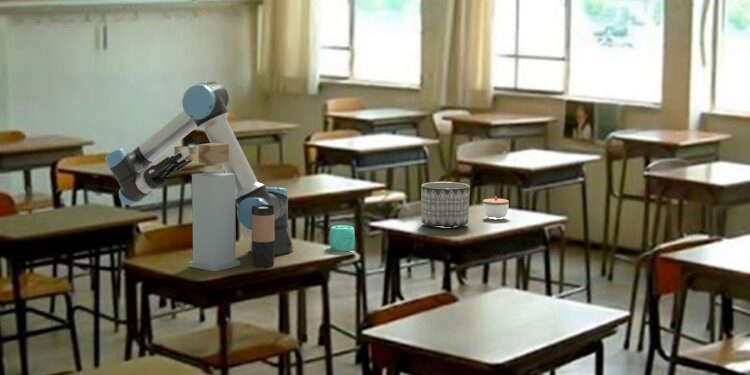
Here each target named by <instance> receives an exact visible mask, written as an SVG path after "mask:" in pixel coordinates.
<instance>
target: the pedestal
mask: <svg viewBox="0 0 750 375" xmlns="http://www.w3.org/2000/svg"><path fill="white" fill-rule="evenodd" d="M191 193H192V194H191V201H192V202H191V203H192V208H191V209H192V211H191V212H192V260H191V261H188V267H189V268H190V267H191V268H195V269H200V270H205V271H210V272H211V271H212V272H218V271H223V270H226V269H227V270H228V269H232V268H235V267H240V266H241V260H237V252H236V250H237V246H236V245H237V244H236V241H237V240H236V239H237V238H236V236H237V232H236V227H237V226H236V203H235V174H230V173H225V172H220V171H207V172H202V173H201V172H199V173H194V174H191Z"/></svg>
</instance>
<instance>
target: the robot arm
mask: <svg viewBox="0 0 750 375" xmlns="http://www.w3.org/2000/svg"><path fill="white" fill-rule="evenodd" d="M229 96H230V95H229V92H228V90H227V88H226V87H225V86H223V85H222V84H221V83H220V82H217V81H216V82H215V81H210V82H208V81H207V82H203V83H202V82H200V83H196V84H194V85H192V86H190V87H189V88H188V89H186V91H185V92H184V94H183V97H182V100H181V101H182V102H181V104H182V108H183V110H182V111H180V112H179V113H178V114H177V115H176V116H174V118H171V120H170V121H169V122H168V123H166V124H164V125H163V126H162V127H161V128H160V129H158V131H156V132H155V133H154V134H152V135H151V136H150V137H148V138H147V139H146V140H145V141H144V142H142V143H141V144H139V146H137V147H136V148H135V149H133V150H132V151H130V152H126V151H125V149H124V148H122V147H119V148H117V149H115V150H113V151H111V152H110V153H108V154H106V156H105V157H104V160H105V163H106V164H107V166H108V168H109V171H111V173H112V175H113V176H114V178H115V180H116V181H117V183H118V185H119V186H120V188H119V190H118V198H119V199H120V202H122V203H123V204H124V205H127V206H134V205H135V204H137V203H139V202H140V201H143V199H144V198H146V197H147V196H149V195H152V194H153V192H154V191H156V190H157V189H159V188H160V187H161V186H163V185H164V184H165V183H166V182H167V179H168V177H170V176H171V175H172V174H173V173H174V172H175V173H176V174H177V173H180V172H181V170H182V169H184V168H185V167H186V166H188V165H189V164H190V163H192V162H193V161H191V160H183V159H185V158H186V157H187V156H189V155H190V154H191V153H190V151H189V148H188V147H189V146H186V148H184V149H183V150H181V151H180V152H179V153H177V154H176V155H175V156H174V155H172V156H170V157H169V156H167V157H166V158H164V159H163V160H160V161H159V162H158V163H157V164H154V165H151V164H152V163H153V162H154V161H156V160H157V159H158V158H159V157H161V156H162V155H163V154H165V153H166V152H167V151H169V150H170V149H171V148H172V147H175V145H176V144H177V143H179V142H180V141H181V140H183V139H184V138H185V137H186V136H188V135H189V134H190V133H191V132H193V131H195V129H197V128H198V129H199V130H203V131H204V134H206V137H207V139H208V141H209V143H225V144H229V162H224V163H220V164H221V167H222V168H223V171H224V173H230V174H235V206H236V207H237V209H236V216H237V219H238V221H239V223H240V224H241V225H242V226H243V227H244V228H246V229H247V230H250V231H252V206H256V207H258V206H261V205H272V206H274V233H275V243H274V256H277V255H285V254H286V253H287V254H290V253H292V252H293V251H294V250H293V249H294V247H293V246H294V244H293V241H292V238H291V235H290V232H289V230H288V229H289V227H288V226H289V225H288V223H289V221H288V220H289V214H288V213H289V211H288V208H289V207H288V206H289V205H288V204H289V202H288V201H289V196H288V189H287V188H286V187H272V186H265V184H264V183H263V182H262V183H261V182H259V181H258V178H257V177H256V175H255V173H254V171H253V169H252V166H251V165H250V163H249V161H248V159H247V157H246V155H245V154H244V150H243V149H242V147H241V145H240V143H239V141H238V139H237V136H236V135H235V132H234V131H233V129H232V127H231V125H230V123H229V121H228V117H229V111H228V109H227V108H228V105H229V103H230V97H229ZM193 147H195V148H198V146H197V145H193ZM139 173H140V174H139ZM249 252H250V253H252V240H251V242H250V245H249Z"/></svg>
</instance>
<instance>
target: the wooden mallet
mask: <svg viewBox="0 0 750 375" xmlns="http://www.w3.org/2000/svg"><path fill="white" fill-rule="evenodd" d="M186 147H188V148H189V151H190V153H191V154H190V155H189V156H187V157H186V158H185V159H183V160H191V161H192V162H198V163H200V164H205V165H206V164H207V165H208V164H209V165H215V164H221V163H224V162H229V144H225V143H210V142H209V143H208V142H207V143H201V144H200V143H199V144H198V147H197V148H195V147H194V146H187V145H179V146H178V145H177V146H173V150H174V151H173V152H174V155H173V156H175V155H176V154H177V153H179V152H180V151H181V150H183V149H184V148H186Z"/></svg>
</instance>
